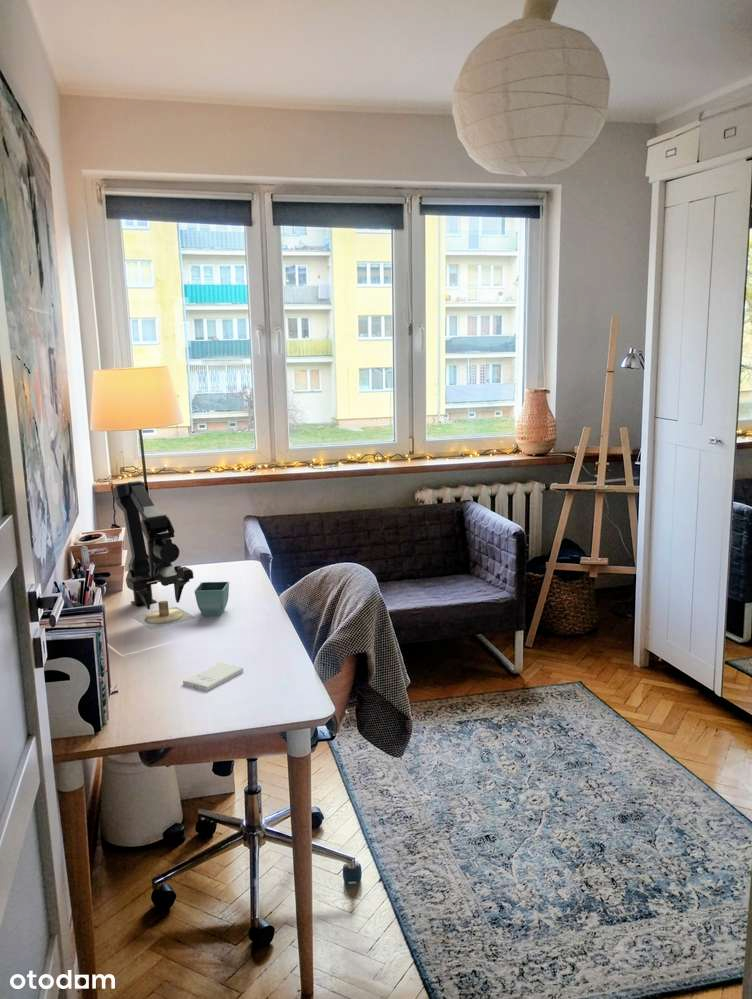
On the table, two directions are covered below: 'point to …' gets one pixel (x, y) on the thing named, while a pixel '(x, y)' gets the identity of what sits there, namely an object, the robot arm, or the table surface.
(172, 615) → the lid
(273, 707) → the table surface
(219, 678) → the external hard drive
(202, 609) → the flower pot
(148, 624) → the mat
